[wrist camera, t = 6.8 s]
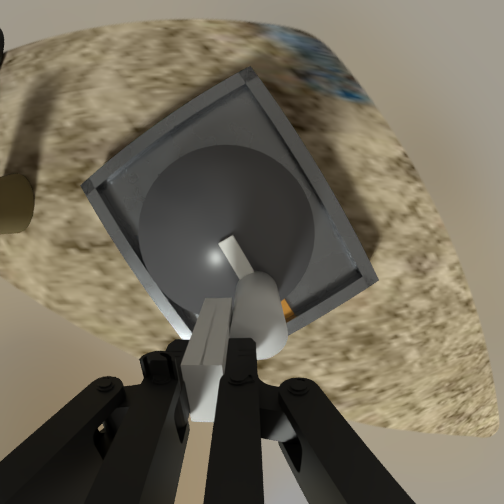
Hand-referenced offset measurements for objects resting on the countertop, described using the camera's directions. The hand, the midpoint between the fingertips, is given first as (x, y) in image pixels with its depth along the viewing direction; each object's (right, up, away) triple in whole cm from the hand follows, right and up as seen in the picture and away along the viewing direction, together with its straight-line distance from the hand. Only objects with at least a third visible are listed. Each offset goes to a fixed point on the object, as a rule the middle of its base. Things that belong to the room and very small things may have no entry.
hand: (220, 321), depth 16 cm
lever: (0, +5, +5) cm, 7 cm away
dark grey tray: (0, +6, +7) cm, 9 cm away
